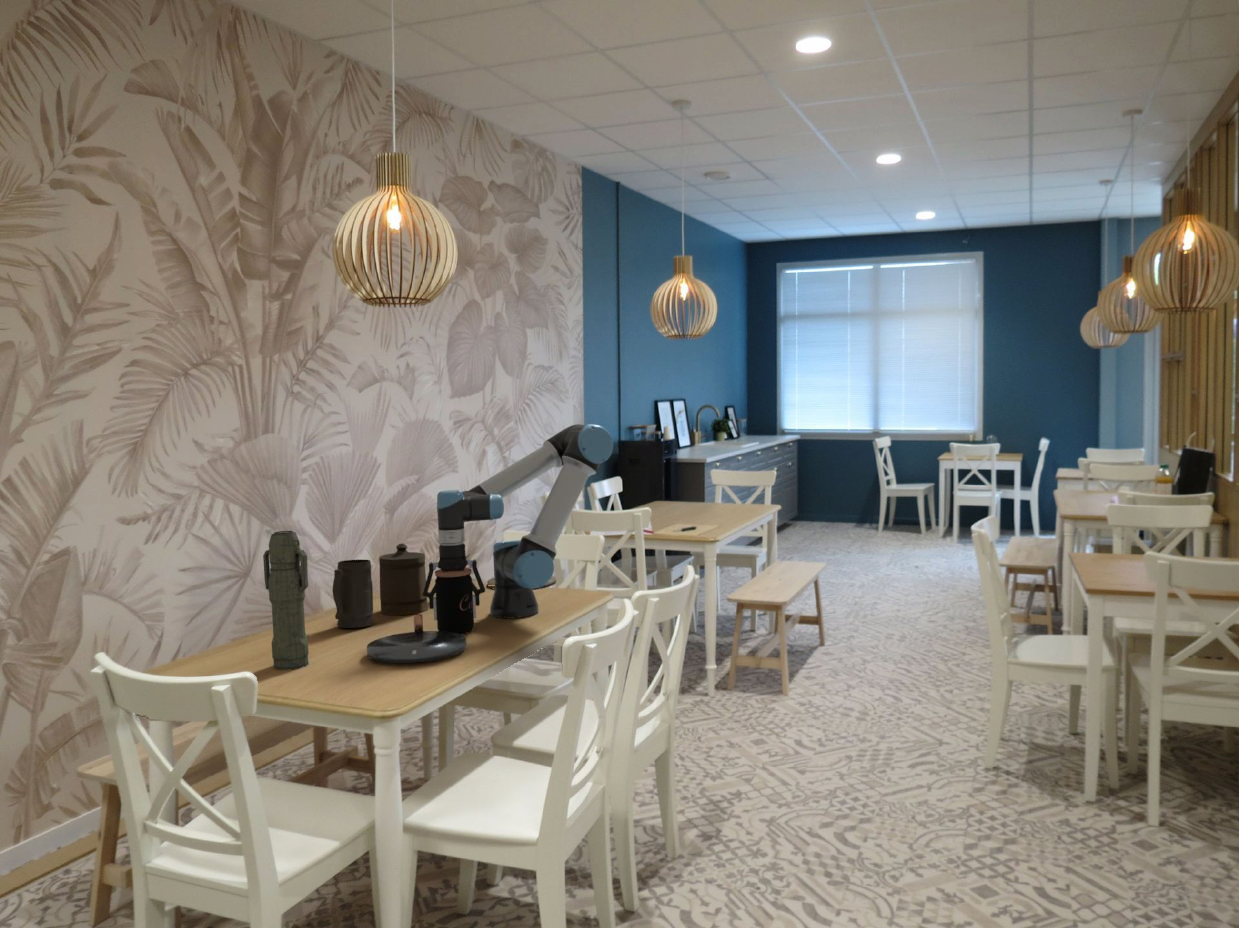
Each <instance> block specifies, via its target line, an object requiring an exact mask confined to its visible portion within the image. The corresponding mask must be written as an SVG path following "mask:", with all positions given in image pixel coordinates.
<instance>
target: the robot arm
mask: <svg viewBox="0 0 1239 928" xmlns="http://www.w3.org/2000/svg"><path fill="white" fill-rule="evenodd" d="M613 452H614V441H613V438H612V435H611V432H609V431H608V430H607V429H606V428H605V427H603V426H601V425H599V424H593V423H590V424H580V423H579V424H572V425H570V426H568V427H565V428H564V429H562V430H560V431H558V432H557V433H555V434H554V435H552V436H551V437H550V438H548V439H546V440H544V441H543V444H542V446H541V447H539V448H537V449H535V450H534V451H532V452H530V453H529V454H527V455H526V456H523V458H521V459H518V460H517V461H516V462H514V463H512V464H511V465H509V466H508V467H506V468H504V469H503V470H500V471H499V472H497V473H495V474H494V475H492V476H491V477H489V478H487V479H486V480H484V481H482V482H481V483H479V484H478V485H476V486H474V487H472V488H471V489H469V490H463V491H462V490H460V489H453V490H451V489H448V490H447V489H446V490H441V491H439V492H438V493H437V495H436V510H437V511H436V512H437V524H438V525H437V526H438V527H437V529H438V530H437V531H438V532H437V533H438V543H439V546H438V552H439V553H438V554H439V556H438V557H439V558H438V562H433V561H430V562H429V563H428V575H427V577H426V584H425V588H424V591H423V596H426V597H427V599H429V600H428V601H429V602H428V603H429V609H430V610H433V616H434V617H433V620H434V621H436V622H437V608H436V586H435V584H434V585H433V587H432V589H431V591H429V588H430V586H431V581H432V578H433V576H434V575H433V573H434V572H435V571H436V570H437V568H438V567H437V566H439V567H440V569H441V570H442V571H443V572H448V571H463V570H464V569H465V568H467V565H468V566H469V568H470V569H472V572H473V574H474V577H475V579H476V581H477V584H478V587H479V588H478V587H477V586H476V585H475V583H474V581H472V591H473V614H474V619H477V606H478V607H479V606H480V603H481V602H480V595H481V594H484V593H485V592H486V587H485V585H484V583H483V580H482V577H481V574H480V573H479V570H478V567H477V566H478V565H477V559H472V560H468V558H467V559H466V556H467V555H466V544H465V543H464V542H465V541H466V539H465V538H466V536H465V535H466V534H465V533H466V532H465V523H466V522H467V523H468V522H469V523H470V522H479V521H493V520H499V519H501V518H502V517H503V516H504V512H505V511H504V510H505V504H504V498H506V497H507V496H508V495H511V494H512V493H513V492H515V491H517V490H518V489H521V488H522V487H523V486H525V485H527V484H528V483H530V482H532V481H534V480H536V479H537V478H539V477H540V476H542V475H543V474H545V473H547V472H549V471H550V470H551V469H553V468H555V467H556V468H561V469H560V470H559V473H558V475H557V477H556V479H555V482H554V483H553V485H552V487H551V488H550V489H551V490H550V491H549V493H548V495H547V497H546V500H545V502H544V503H543V506H542V508H541V509H540V512H539V514H538V516H537V518H536V520H535V522H534V524H533V526H532V528H531V530H530V532H529V533H528V534H526V535H523V536H522V537H521V539H518V540H509V541H508V540H507V541H498V542H496V543H494V544H493V549H492V551H493V552H492V556H493V558H492V559H493V575H494V577H493V578H494V579H495V589H494V591H493V595H492V599H491V603H490V606H489V611H490V613H489V614H490V616H492V617H495V618H500V617H506V618H505V619H513V618H512V617H517V618H525V616H526V617H530V616H529V615H531V616H534V615H537V614H538V613H539V604H538V601H537V598H536V595H535V592H534V590H536V589H535V588H539V587H542V586H544V585H545V584H546V583H548V582H549V580H550V579H551V577H552V576H554V572H555V565H554V560H555V558H556V557H557V553H558V552H557V550H556V545H557V543H558V541H559V538H560V536H561V535H562V532H563V530H564V528H565V525H566V524H567V522H568V519H569V517H570V516H571V514H572V511H573V510H574V508H575V505H576V503H577V501H578V499H579V497H580V495H581V493H582V491H583V490H584V486H585V485H586V483H587V481H588V478H590V477H591V476H594V475H596V474H597V471H598V470H599V467H600V465H601V464H602V463H603V464H604V462H606V461H608V460H609V459H610V457H611V456H612V453H613ZM507 617H509V618H507ZM510 617H511V618H510Z"/></svg>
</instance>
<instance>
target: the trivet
mask: <svg viewBox="0 0 1239 928" xmlns="http://www.w3.org/2000/svg"><path fill="white" fill-rule="evenodd" d="M486 582H487V587H488V588H489V587H490V588H489V589H491V588H494V589H493V590H495V586H488V585H495V579H494V577H493V578H490V579H488V580H487V581H486ZM556 583H557V577H556V576H555V575H552V577H551V579H550V580H549V582H548V583H546V584H545V585H544V586H542V587H539V588H540V589H545V588H548V587H552V586H554V585H556ZM534 590H538V589H537V588H535V589H534Z"/></svg>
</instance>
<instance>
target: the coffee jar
mask: <svg viewBox="0 0 1239 928" xmlns="http://www.w3.org/2000/svg"><path fill="white" fill-rule="evenodd" d="M472 572H473V569H472V568H470V567H465V569H464V570H463V571H448V572H443V571H442V570H441V569H439V568H438V569H436V570H434V575H435V577H436V578H435V581H434V585H435V586H436V593H435V597H436V608H437V620H436V622H437V624H436V625H437V626H436V627H437V631H444V632H453V633H457V634H461V635H465V634H469V633H471V632H473V629H474V627H475V618H474V614H473V594H474V592H473V591H472V582H473V578H472V576H471V574H472Z"/></svg>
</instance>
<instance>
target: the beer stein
mask: <svg viewBox="0 0 1239 928" xmlns="http://www.w3.org/2000/svg"><path fill="white" fill-rule="evenodd" d="M336 568H337V569H336ZM336 568H335V570H334V571H333V572H334V574H333V575H334V576H333V583H332V597H333V601H334V604H335V607H336V613H335V615H334V619H335V620H337V624H336V626H337V627H338V628H346V629H348V628H349V629H351V628H364V627H370V626H373V625H374V617H373V614H374V596H373V595H374V593H373V591H374V589H373V588H374V587H373V580H372V562H371V559H346V560H341V561H338V563H337V567H336Z"/></svg>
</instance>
